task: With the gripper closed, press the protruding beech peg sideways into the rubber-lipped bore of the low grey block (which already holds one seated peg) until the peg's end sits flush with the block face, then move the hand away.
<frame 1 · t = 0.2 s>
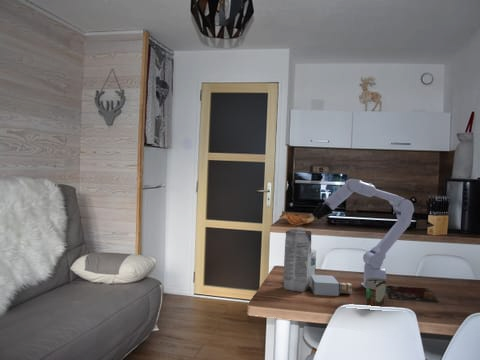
hand: (315, 216, 191), 31 cm above the table, tool tilted 45°, fingers open, 7 cm apart
syrup box: (307, 280, 198), on the table
food container: (372, 306, 161), on the table
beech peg: (339, 287, 176), point 3 cm above the table, slide at 0.0 cm
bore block: (323, 290, 179), on the table
juice carton: (296, 289, 180), on the table
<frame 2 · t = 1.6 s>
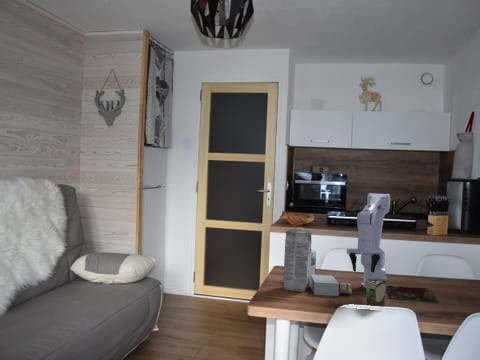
hand: (363, 271, 176), 10 cm above the table, tool pointing down, fingers open, 7 cm apart
nothing on the table moved.
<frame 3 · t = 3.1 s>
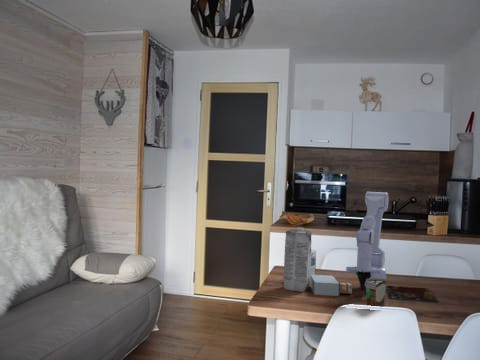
hand: (362, 289, 176), 2 cm above the table, tool pointing down, fingers closed
nothing on the table moved.
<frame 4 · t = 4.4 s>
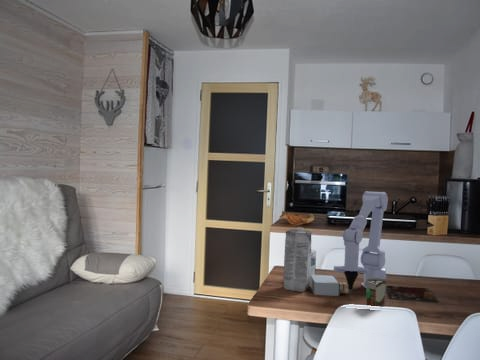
hand: (350, 288, 176), 2 cm above the table, tool pointing down, fingers closed
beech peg: (335, 287, 176), point 3 cm above the table, slide at 1.5 cm, touching gripper
everything else where it was.
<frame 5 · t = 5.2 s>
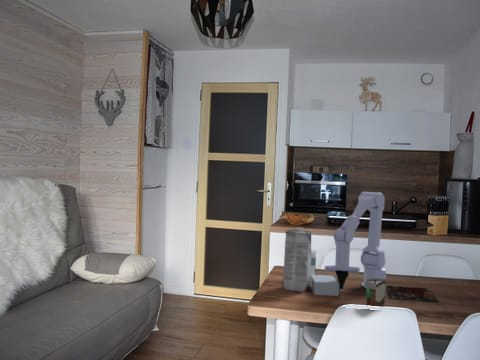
hand: (341, 288, 176), 2 cm above the table, tool pointing down, fingers closed
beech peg: (326, 286, 176), point 3 cm above the table, slide at 5.3 cm, touching gripper
everything else where it was.
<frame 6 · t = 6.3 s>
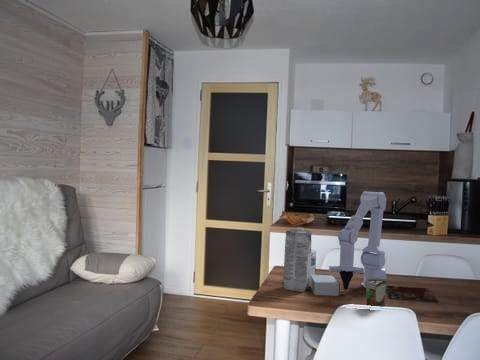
hand: (345, 288, 176), 2 cm above the table, tool pointing down, fingers closed
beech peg: (326, 286, 176), point 3 cm above the table, slide at 5.3 cm
everything else where it was.
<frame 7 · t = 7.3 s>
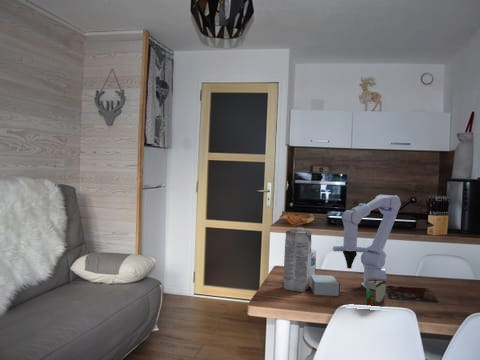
hand: (349, 268, 183), 10 cm above the table, tool pointing down, fingers closed
nothing on the table moved.
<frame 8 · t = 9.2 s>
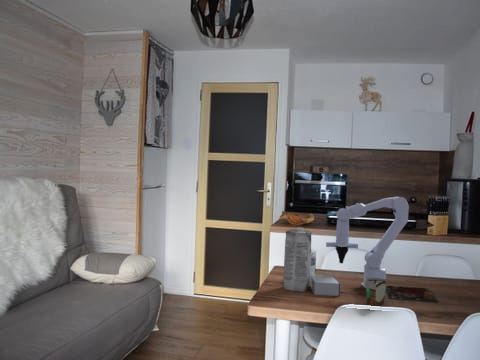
hand: (341, 262, 193), 10 cm above the table, tool pointing down, fingers closed
nothing on the table moved.
at the end: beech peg slide at 5.3 cm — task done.
